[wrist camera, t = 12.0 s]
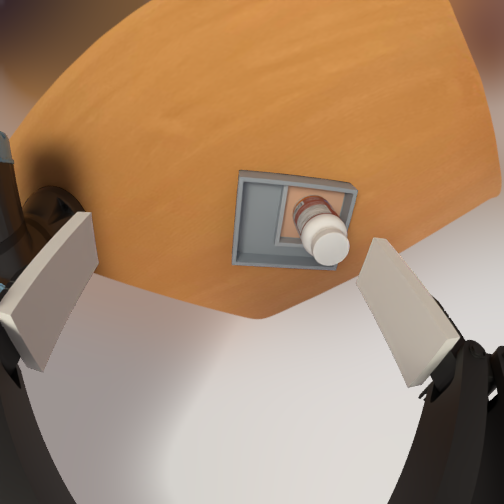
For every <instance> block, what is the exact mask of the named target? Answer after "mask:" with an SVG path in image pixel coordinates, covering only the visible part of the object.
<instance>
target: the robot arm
mask: <svg viewBox="0 0 504 504" xmlns="http://www.w3.org/2000/svg"><path fill="white" fill-rule="evenodd" d="M13 164H14V160H13V159H12V155H11V150H10V143H9V139H8V137H7V135H6V134H5V133H3V132H1V131H0V504H76V502H75V501H74V499H73V497H72V496H71V494H70V492H69V491H68V489H67V487H66V485H65V483H64V482H63V480H62V478H61V476H60V474H59V472H58V470H57V468H56V466H55V464H54V462H53V460H52V458H51V456H50V453H49V451H48V449H47V447H46V444H45V442H44V440H43V438H42V435H41V432H40V430H39V427H38V425H37V422H36V419H35V416H34V414H33V410H32V407H31V404H30V401H29V398H28V395H27V392H26V388H25V384H24V381H23V377H22V374H21V370H20V368H19V366H18V364H17V363H18V361H19V359H20V357H21V358H22V360H23V362H24V363H25V364H26V366H27V367H28V368H31V369H34V370H37V371H40V372H43V371H44V369H45V366H46V364H47V362H48V360H49V357H50V355H51V353H52V351H53V348H54V346H55V344H56V342H57V340H58V338H59V335H60V334H61V331H62V329H63V327H64V325H65V323H66V321H67V320H68V318H69V315H70V314H71V312H72V310H73V308H74V306H75V304H76V302H77V301H78V299H79V297H80V295H81V293H82V291H83V290H84V288H85V286H86V284H87V283H88V281H89V279H90V277H91V276H92V274H93V272H94V271H95V269H96V267H97V266H98V264H99V261H98V256H97V250H96V243H95V237H94V230H93V222H92V214H91V212H85V211H84V210H83V208H82V206H81V205H80V203H79V202H78V201H77V200H76V199H75V198H74V197H73V196H72V195H71V194H70V193H68V192H67V191H65V190H63V189H61V188H58V187H54V186H47V187H43V188H41V189H39V190H38V191H36V192H35V193H33V194H32V195H31V196H30V197H29V198H28V199H27V201H26V202H25V204H24V206H23V208H22V206H21V202H20V198H19V193H18V188H17V183H16V177H15V171H14V165H13ZM356 284H357V286H358V287H359V290H360V291H361V293H362V295H363V297H364V299H365V301H366V303H367V305H368V307H369V308H370V310H371V312H372V314H373V316H374V318H375V320H376V322H377V324H378V326H379V328H380V330H381V332H382V334H383V336H384V338H385V340H386V342H387V344H388V346H389V348H390V350H391V352H392V354H393V356H394V358H395V361H396V363H397V365H398V367H399V369H400V371H401V374H402V376H403V378H404V380H405V383H406V385H407V387H408V388H409V387H413V386H418V385H422V384H423V382H424V381H425V380H426V379H427V378H428V377H429V376H431V378H432V380H433V381H432V382H431V383H430V384H429V385H428V387H427V388H426V389H425V390H424V391H423V392H422V393H421V394H420V396H419V399H421V397H423V396H424V394H427V395H426V398H425V399H424V401H425V403H424V407H423V411H422V414H421V418H420V421H419V424H418V428H417V431H416V434H415V437H414V440H413V443H412V446H411V449H410V452H409V455H408V458H407V460H406V462H405V465H404V468H403V470H402V473H401V475H400V477H399V480H398V482H397V484H396V487H395V489H394V491H393V493H392V495H391V498H390V500H389V502H388V504H504V346H499V347H498V348H497V349H496V351H495V352H494V353H493V354H488V353H486V352H485V350H484V348H483V347H482V346H481V345H480V344H479V343H477V342H476V341H473V340H467V341H465V339H464V338H463V336H462V335H461V333H460V331H459V330H458V329H457V327H456V326H455V324H454V323H453V321H452V320H451V318H449V316H448V314H447V313H446V311H444V309H443V307H442V306H441V304H440V303H439V302H438V301H437V300H436V299H435V298H434V297H433V296H432V295H431V294H430V293H429V292H428V290H427V289H426V288H425V286H424V285H423V284H422V282H421V281H420V280H419V279H418V277H417V276H416V275H415V274H414V272H413V271H412V270H411V268H410V267H409V266H408V265H407V263H406V262H405V261H404V260H403V259H402V257H400V255H399V254H398V253H397V251H396V250H395V249H394V248H393V247H392V245H391V244H390V243H389V242H388V241H387V240H386V239H382V238H374V237H373V240H372V243H371V245H370V248H369V251H368V254H367V256H366V259H365V261H364V264H363V266H362V269H361V272H360V274H359V276H358V279H357V282H356ZM496 388H497V392H498V394H497V395H496V396H495V397H494V398H493V399H492V400H490V401H489V399H488V396H489V395H490V394H491V393H492V392H493V391H494V390H495V389H496Z"/></svg>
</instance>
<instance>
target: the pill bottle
mask: <svg viewBox="0 0 504 504" xmlns="http://www.w3.org/2000/svg"><path fill="white" fill-rule="evenodd" d="M292 217H293V222H294V224H295V226H296V229H297V231H298V234H299V236H300V239H301V242H302V244H303V246H304V248H305V250H306V251H307V252H308V253H309V254H311V255H312V256H314V258H315V260H316V261H317V262H318V263H320V264H322V265H326V266H331V265H335V264H338V263H339V262H341V261H342V260H343V259H344V258H345V257H346V256H347V254H348V252H349V241H348V239H347V229H346V226H345V224H344V223H343V221H342V220H341V218H340V217H339V216H338V214H337V213H336V212H335V210H334V209H333V208H332V206H331V205H330V204H329V202H328V201H327V200H326V199H325V198H323V197H321V196H319V195H308V196H305V197H303V198H301V199H300V200H299V201H298V202H297V203H296V204H295V206H294V208H293V212H292Z"/></svg>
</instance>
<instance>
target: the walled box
mask: <svg viewBox="0 0 504 504" xmlns="http://www.w3.org/2000/svg"><path fill="white" fill-rule="evenodd" d="M357 193H358V190H357V189H356V188H355V187H354V186H353V185H352V184H350V183H348V182H342V181H335V180H328V179H321V178H314V177H306V176H298V175H289V174H280V173H270V172H259V171H248V170H239V177H238V188H237V199H236V211H235V223H234V235H233V247H232V265H245V266H262V267H280V268H298V269H318V270H336V268H337V265H338V264H335V265H331V266H326V265H322V264H320V263H318V262H317V261H316V260H315V258H314V256H312V255H311V254H309V253H308V252H307V251H306V250H305V248H304V246H303V244H302V242H301V239H300V236H299V234H298V231H297V229H296V226H295V224H294V222H293V217H292V212H293V208H294V206H295V204H296V203H297V202H298V201H299V200H300V199H301V198H303V197H305V196H308V195H319V196H321V197H323V198H325V199H326V200H327V201H328V202H329V204H330V205H331V206H332V208H333V209H334V210H335V212H336V213H337V214H338V216H339V217H340V218H341V220H342V221H343V223H344V224H345V226H346V229H347V231H348V227H349V223H350V220H351V216H352V212H353V208H354V205H355V201H356V197H357Z"/></svg>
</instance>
